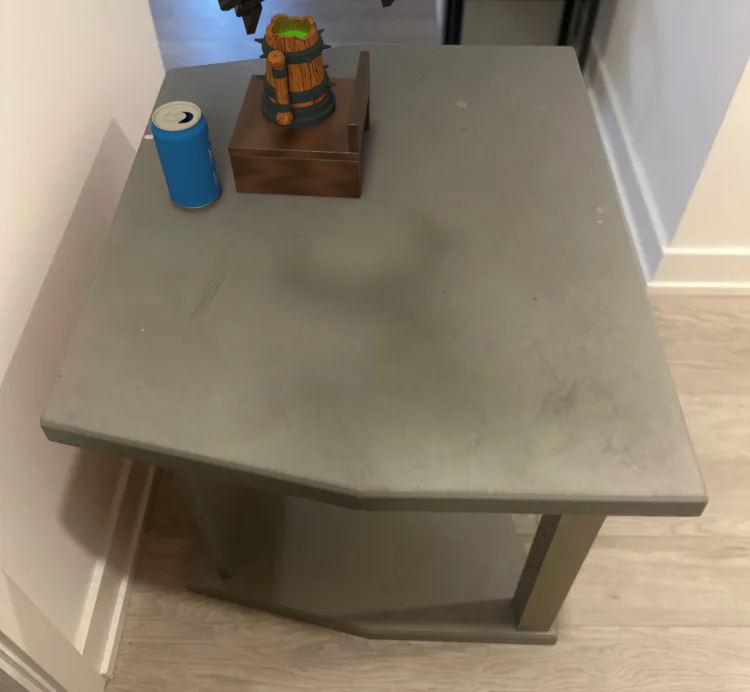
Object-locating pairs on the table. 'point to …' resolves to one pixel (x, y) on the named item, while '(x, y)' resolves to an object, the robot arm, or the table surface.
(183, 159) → the beverage can
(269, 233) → the table surface
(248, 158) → the brown wooden box
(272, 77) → the mug
